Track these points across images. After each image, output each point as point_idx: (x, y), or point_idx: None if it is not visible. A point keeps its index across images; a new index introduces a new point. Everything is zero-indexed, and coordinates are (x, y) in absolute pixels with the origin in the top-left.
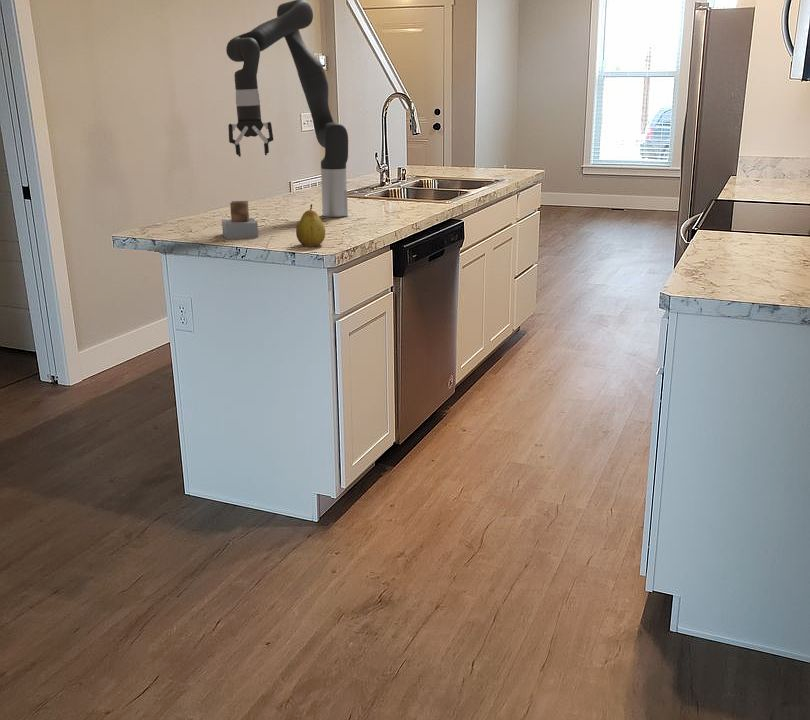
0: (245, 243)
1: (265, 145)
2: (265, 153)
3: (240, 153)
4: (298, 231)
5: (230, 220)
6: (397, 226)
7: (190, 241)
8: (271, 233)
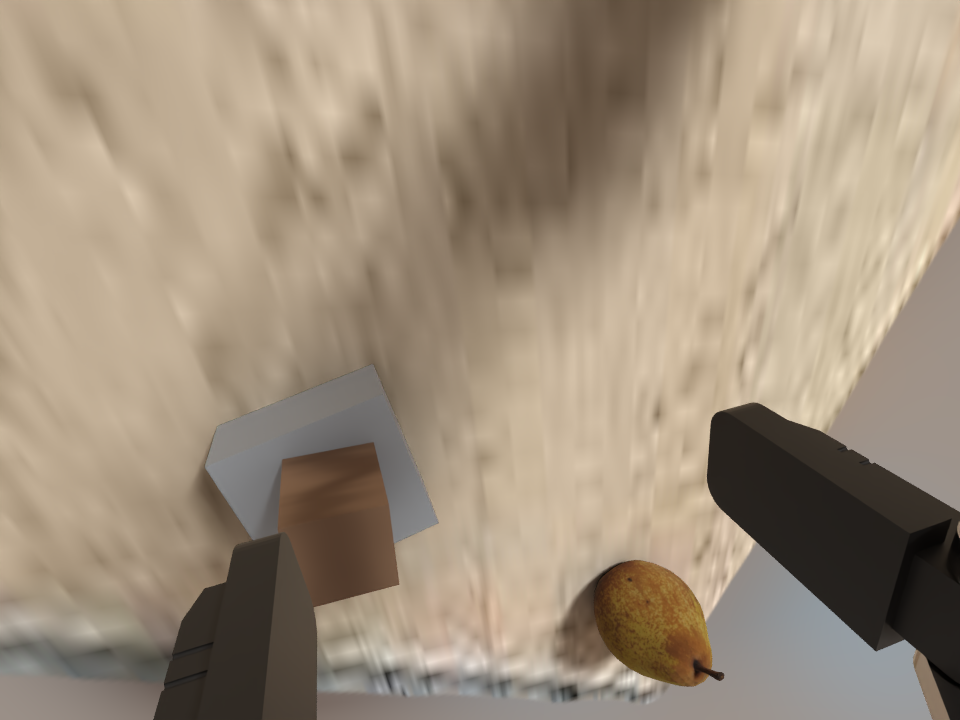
0: (399, 605)
1: (863, 608)
2: (735, 509)
3: (300, 618)
4: (613, 654)
5: (271, 482)
6: (950, 179)
7: (128, 621)
8: (466, 383)
